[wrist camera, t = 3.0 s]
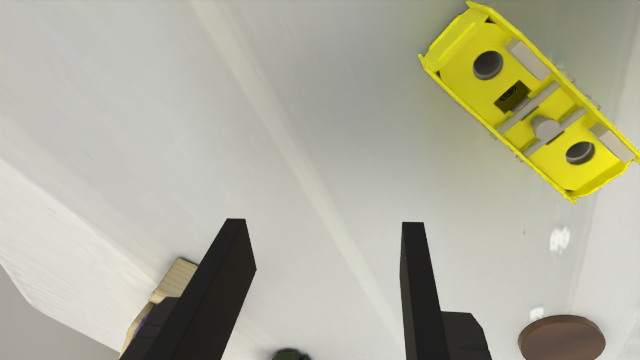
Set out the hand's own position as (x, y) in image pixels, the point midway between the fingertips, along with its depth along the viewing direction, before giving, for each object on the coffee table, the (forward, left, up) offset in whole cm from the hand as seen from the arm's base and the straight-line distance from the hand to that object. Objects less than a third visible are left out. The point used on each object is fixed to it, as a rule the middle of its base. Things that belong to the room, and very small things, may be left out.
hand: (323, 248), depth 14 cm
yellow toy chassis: (-11, -7, -20) cm, 24 cm away
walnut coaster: (-38, +12, -20) cm, 44 cm away
